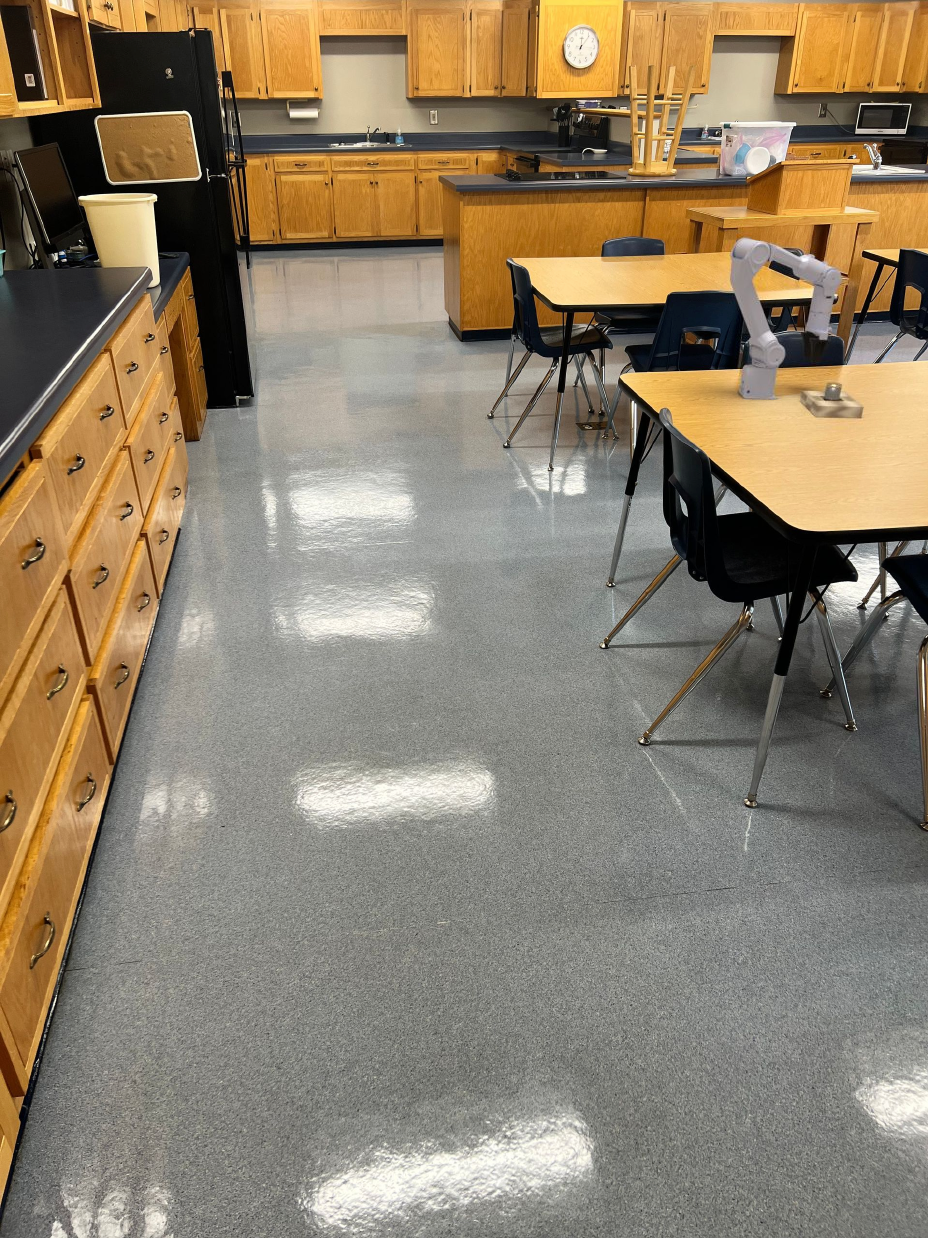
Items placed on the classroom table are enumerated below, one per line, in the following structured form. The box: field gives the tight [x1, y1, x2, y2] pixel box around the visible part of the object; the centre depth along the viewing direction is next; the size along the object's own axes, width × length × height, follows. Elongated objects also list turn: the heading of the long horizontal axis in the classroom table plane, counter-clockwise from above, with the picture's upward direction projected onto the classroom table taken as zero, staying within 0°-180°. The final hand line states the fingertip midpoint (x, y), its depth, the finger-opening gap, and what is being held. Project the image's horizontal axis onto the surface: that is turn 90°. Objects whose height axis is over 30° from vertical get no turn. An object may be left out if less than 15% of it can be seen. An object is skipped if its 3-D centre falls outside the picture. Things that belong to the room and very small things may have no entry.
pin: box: [824, 381, 843, 401], centre depth 247 cm, size 4×4×7 cm
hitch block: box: [799, 390, 865, 419], centre depth 248 cm, size 12×16×3 cm
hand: (811, 360), depth 260 cm, fingers open, 7 cm apart
